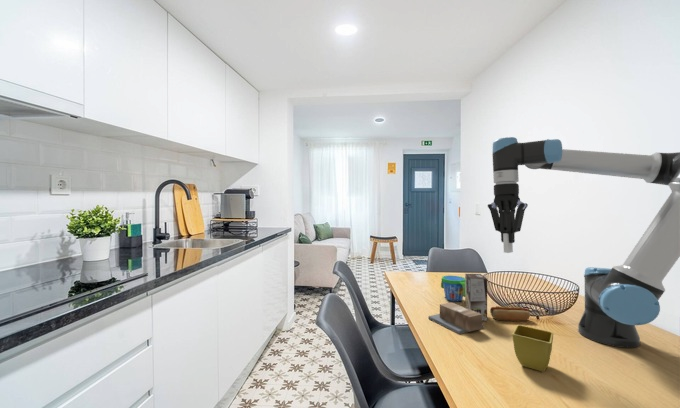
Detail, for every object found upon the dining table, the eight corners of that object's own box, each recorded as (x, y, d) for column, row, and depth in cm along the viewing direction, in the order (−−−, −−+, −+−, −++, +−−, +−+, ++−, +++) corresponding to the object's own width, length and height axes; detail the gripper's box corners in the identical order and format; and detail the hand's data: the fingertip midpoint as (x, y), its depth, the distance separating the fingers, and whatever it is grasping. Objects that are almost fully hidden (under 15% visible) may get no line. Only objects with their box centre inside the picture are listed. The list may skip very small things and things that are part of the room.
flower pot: (517, 354, 87) (517, 323, 87) (553, 364, 81) (553, 331, 81) (512, 366, 80) (512, 333, 80) (551, 378, 74) (551, 343, 74)
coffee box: (488, 321, 111) (487, 278, 111) (470, 319, 113) (469, 278, 113) (481, 312, 120) (481, 273, 120) (464, 311, 121) (464, 272, 122)
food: (493, 321, 111) (493, 308, 111) (488, 316, 117) (488, 303, 117) (532, 323, 110) (532, 310, 110) (525, 317, 115) (525, 305, 115)
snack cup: (434, 295, 143) (434, 274, 143) (453, 293, 146) (453, 273, 146) (453, 305, 128) (453, 282, 128) (474, 304, 131) (474, 281, 131)
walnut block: (481, 314, 102) (451, 302, 115) (469, 316, 100) (439, 304, 112) (481, 328, 102) (451, 314, 115) (469, 331, 100) (439, 317, 112)
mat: (483, 327, 105) (483, 325, 105) (459, 334, 100) (459, 331, 100) (451, 313, 119) (451, 311, 119) (428, 318, 114) (428, 316, 114)
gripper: (481, 185, 104) (483, 251, 104) (518, 181, 93) (521, 255, 92) (494, 185, 108) (497, 249, 107) (532, 182, 96) (534, 253, 96)
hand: (508, 252), depth 100 cm, fingers closed
